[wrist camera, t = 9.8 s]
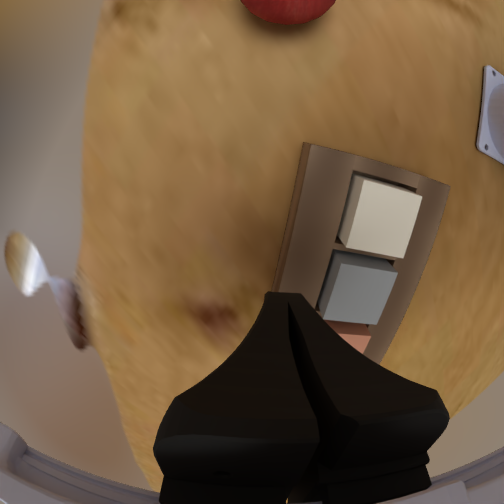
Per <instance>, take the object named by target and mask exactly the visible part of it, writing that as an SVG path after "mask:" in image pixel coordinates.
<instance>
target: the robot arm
mask: <svg viewBox="0 0 504 504" xmlns="http://www.w3.org/2000/svg"><path fill="white" fill-rule="evenodd" d="M492 72H493V74H492ZM476 146H477V149H478V150H479V151H481V152H483V153H485V154H486V155H488V156H490V157H492V158H493V159H495V160H497V161H499V162H500V163H502V164H504V76H503V75H502V74H500V73H499V72H498V71H496V70H495V69H494V68H492V67H491V66H489V65H488V66H485V67H484V83H483V97H482V107H481V116H480V123H479V130H478V137H477V143H476ZM485 146H486V148H485ZM449 419H450V418H449V413H448V411H447V409H446V407H445V405H444V403H443V401H442V399H441V397H440V395H439V394H438V392H437V390H434V389H432V388H429V387H426V386H423V385H421V384H418V383H415V382H413V381H410V380H408V379H406V378H403V377H401V376H399V375H397V374H395V373H393V372H391V371H389V370H387V369H386V368H384V367H382V366H380V365H379V364H377V363H376V362H374V361H372V360H371V359H369V358H368V357H366V356H365V355H363V354H362V353H360V352H359V351H358V350H357V349H355V348H354V347H353V346H351V345H350V344H349V343H348V342H346V341H345V340H344V339H343V338H342V337H341V336H340V335H339V334H337V333H336V332H335V331H334V330H333V329H332V328H331V327H330V326H329V325H328V324H327V323H326V322H325V321H324V320H323V318H322V317H321V316H320V315H319V314H318V313H317V312H316V311H315V309H314V308H313V307H312V306H311V305H310V303H309V302H308V301H307V300H306V299H305V297H304V296H303V295H302V294H301V293H286V292H267V293H266V294H265V299H264V303H263V306H262V309H261V311H260V313H259V315H258V317H257V319H256V321H255V323H254V325H253V326H252V328H251V329H250V331H249V333H248V334H247V336H246V337H245V338H244V340H243V341H242V342H241V344H240V345H239V346H238V347H237V349H236V350H235V351H234V352H233V353H232V354H231V355H230V356H229V357H228V358H227V359H226V360H225V361H224V362H223V363H222V364H221V365H220V366H219V367H218V368H217V369H215V370H214V371H213V372H212V373H211V374H209V375H208V376H207V377H206V378H204V379H203V380H202V381H200V382H199V383H198V384H196V385H194V386H193V387H191V388H190V389H188V390H186V391H185V392H183V393H181V394H180V395H178V396H176V397H175V398H174V400H173V401H172V403H171V405H170V406H169V408H168V410H167V411H166V413H165V415H164V417H163V419H162V422H161V424H160V426H159V429H158V432H157V436H156V439H155V443H154V447H153V452H154V456H155V458H156V460H157V462H158V465H159V467H160V469H161V471H162V473H163V475H164V478H163V482H162V487H161V491H160V493H158V492H154V491H149V490H145V489H141V488H137V487H133V486H129V485H126V484H122V483H119V482H115V481H112V480H109V479H106V478H103V477H100V476H97V475H94V474H91V473H88V472H86V471H83V470H80V469H78V468H75V467H73V466H70V465H68V464H66V463H63V462H61V461H58V460H56V459H54V458H52V457H50V456H47V455H45V454H43V453H41V452H39V451H37V450H35V449H33V448H31V447H29V446H27V444H26V442H25V441H24V439H23V438H22V437H21V436H20V435H19V434H18V433H17V432H15V431H14V430H13V429H11V428H10V427H8V426H6V425H5V424H3V423H1V422H0V500H1V501H2V502H4V503H5V504H286V500H287V498H288V504H504V447H502V448H500V449H498V450H496V451H494V452H492V453H491V454H488V455H486V456H484V457H482V458H480V459H478V460H475V461H473V462H471V463H469V464H466V465H464V466H462V467H459V468H457V469H454V470H451V471H449V472H446V473H443V474H441V475H438V476H435V477H432V478H430V477H429V474H428V471H427V468H426V464H428V463H429V460H430V459H429V456H428V454H427V450H428V449H429V448H430V447H431V446H432V445H433V444H434V443H435V441H436V440H437V439H438V438H439V437H440V436H441V434H442V433H443V432H444V430H445V429H446V427H447V425H448V422H449Z"/></svg>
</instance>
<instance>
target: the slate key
mask: <svg viewBox="0 0 504 504" xmlns="http://www.w3.org/2000/svg"><path fill="white" fill-rule="evenodd" d="M397 274H398V272H397V271H396V270H395V269H394V268H393V267H392V265H391V264H390V263H389V262H388V261H387V260H386V259H385V258H380V257H374V256H369V255H363V254H358V253H353V252H347V251H341V250H336V249H333V250H332V253H331V257H330V260H329V264H328V267H327V270H326V274H325V277H324V280H323V284H322V287H321V290H320V293H319V296H318V300H317V302H318V305H319V309H320V312H321V315H322V318H323V319H325V320H334V321H343V322H353V323H363V324H374V325H377V323H378V320H379V318H380V316H381V314H382V311H383V309H384V307H385V304H386V302H387V299H388V297H389V295H390V292H391V290H392V287H393V285H394V282H395V279H396V277H397Z"/></svg>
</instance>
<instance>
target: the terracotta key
mask: <svg viewBox="0 0 504 504" xmlns="http://www.w3.org/2000/svg"><path fill="white" fill-rule="evenodd" d="M323 320H324V321H325V322H326V323H327V324H328V325H329V326H330V327H331V328H332V329H333V330H334V331H335V332H336V333H337V334H339V335H340V336H341V337H342V338H343V339H344V340H345V341H346V342H348V343H349V344H350V345H351V346H353V347H354V348H355V349H357V350H358V351H359V352H360V353H362V354H363V352H364V350H365V348H366V346H367V344H368V342H369V340H370V338H371V334H370V332H369V330H368V328H367V326H366V324H363V323H353V322H343V321H334V320H325V319H323Z"/></svg>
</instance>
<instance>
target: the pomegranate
mask: <svg viewBox="0 0 504 504" xmlns="http://www.w3.org/2000/svg"><path fill="white" fill-rule="evenodd" d="M335 1H336V0H241V2H242V3H243V4H244V5H245V6H246V7H247V8H248V10H249V11H250V12H251V13H252V14H254V15H256V16H258V17H260V18H262V19H264V20H265V21H267V22H273V23H279V24H284V25H289V24H301V23H306V22H308V21H311V20H314V19H316V18H319V17H320V16H322V15H323V14H324V13H325V12H326V11H327V10H328V9H329V8H330V7H331V6H332V5H333V4H334V3H335Z"/></svg>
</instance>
